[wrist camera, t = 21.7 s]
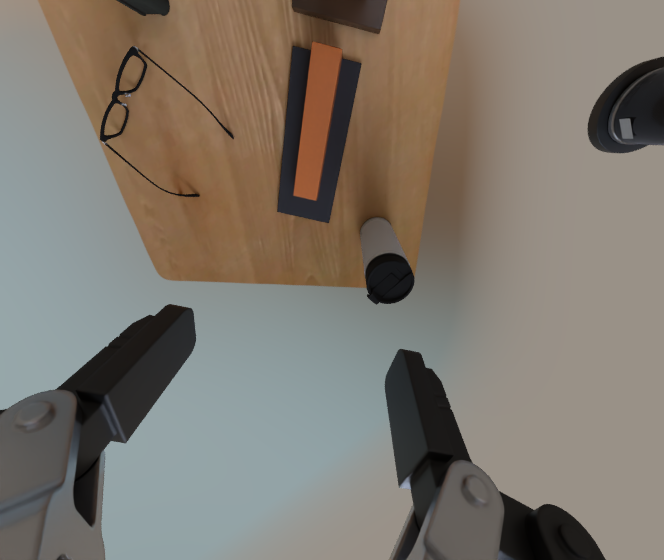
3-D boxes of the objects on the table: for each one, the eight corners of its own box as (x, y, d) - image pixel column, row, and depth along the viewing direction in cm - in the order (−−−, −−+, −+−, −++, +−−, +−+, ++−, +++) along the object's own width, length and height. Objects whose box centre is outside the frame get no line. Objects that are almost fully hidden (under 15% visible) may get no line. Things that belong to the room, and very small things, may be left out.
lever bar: (315, 48, 35) (312, 41, 32) (342, 55, 35) (342, 48, 33) (296, 192, 45) (293, 195, 42) (318, 197, 45) (316, 200, 43)
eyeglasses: (147, 45, 36) (126, 35, 33) (239, 129, 41) (229, 128, 38) (113, 141, 43) (93, 141, 40) (196, 203, 48) (184, 208, 44)
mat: (293, 46, 36) (292, 45, 35) (361, 64, 36) (361, 63, 36) (278, 210, 48) (277, 211, 47) (329, 222, 48) (328, 223, 48)
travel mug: (352, 234, 49) (354, 288, 32) (376, 209, 46) (393, 253, 29) (374, 254, 51) (387, 315, 34) (398, 231, 48) (427, 285, 31)
